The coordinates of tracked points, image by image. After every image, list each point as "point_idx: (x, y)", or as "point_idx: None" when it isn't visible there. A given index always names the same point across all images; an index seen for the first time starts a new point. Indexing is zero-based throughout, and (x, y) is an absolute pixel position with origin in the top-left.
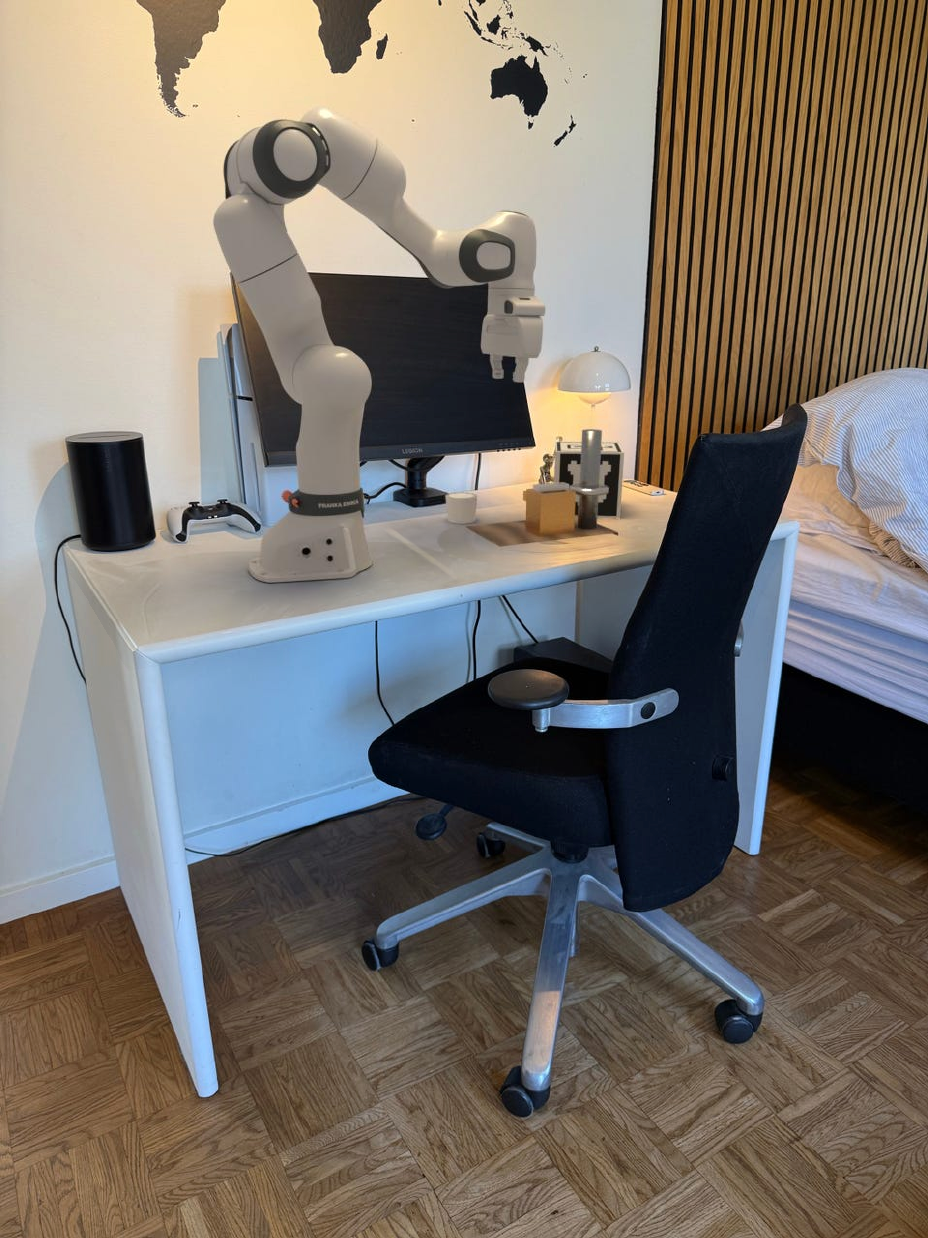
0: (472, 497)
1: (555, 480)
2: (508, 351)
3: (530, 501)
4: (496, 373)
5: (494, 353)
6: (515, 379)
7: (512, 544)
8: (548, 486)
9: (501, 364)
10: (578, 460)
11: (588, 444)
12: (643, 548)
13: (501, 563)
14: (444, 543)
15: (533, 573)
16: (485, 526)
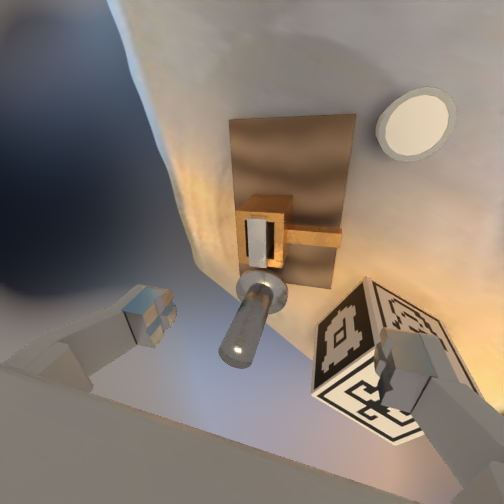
0: (383, 142)
1: (372, 309)
2: (25, 416)
3: (272, 207)
4: (389, 350)
5: (387, 501)
6: (138, 287)
7: (231, 141)
8: (248, 234)
9: (442, 456)
10: (352, 352)
11: (230, 327)
12: (207, 271)
13: (193, 102)
14: (315, 51)
15: (152, 124)
16: (337, 148)
